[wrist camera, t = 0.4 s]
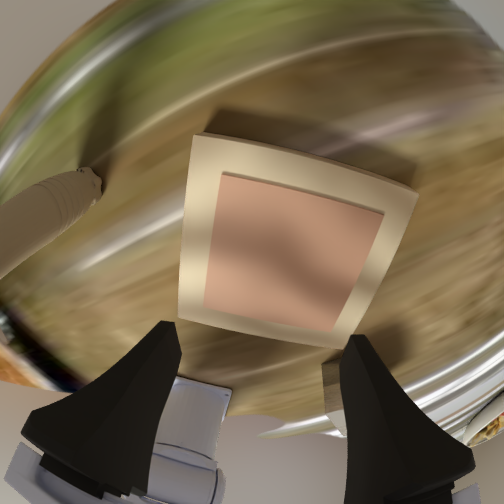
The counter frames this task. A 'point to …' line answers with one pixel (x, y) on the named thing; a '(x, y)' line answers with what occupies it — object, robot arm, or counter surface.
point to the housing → (333, 395)
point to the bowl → (486, 423)
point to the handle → (44, 214)
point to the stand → (285, 240)
